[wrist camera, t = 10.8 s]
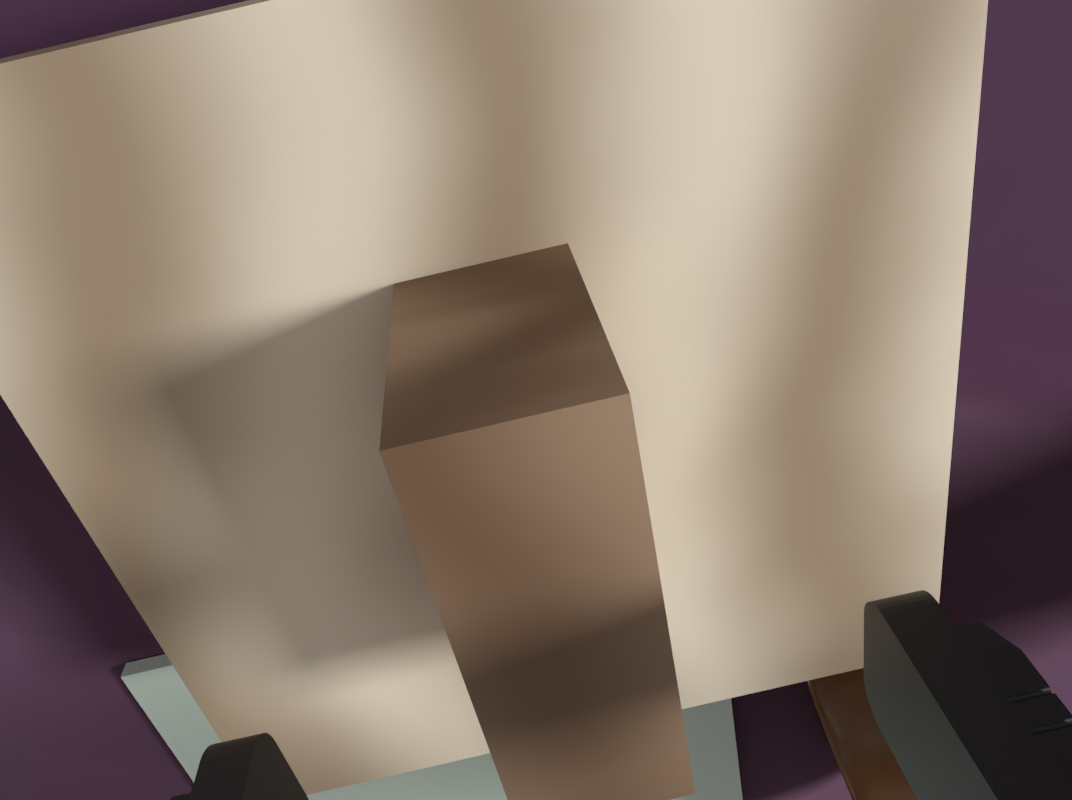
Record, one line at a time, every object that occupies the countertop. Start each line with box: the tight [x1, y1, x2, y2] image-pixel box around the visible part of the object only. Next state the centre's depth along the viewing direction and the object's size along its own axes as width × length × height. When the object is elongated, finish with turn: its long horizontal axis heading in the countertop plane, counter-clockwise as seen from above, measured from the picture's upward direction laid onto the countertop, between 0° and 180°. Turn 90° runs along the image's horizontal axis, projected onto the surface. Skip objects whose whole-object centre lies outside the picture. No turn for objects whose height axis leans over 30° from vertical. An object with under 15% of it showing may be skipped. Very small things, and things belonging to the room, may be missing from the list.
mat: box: [121, 654, 743, 800], centre depth 33 cm, size 20×20×1 cm
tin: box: [806, 668, 917, 800], centre depth 28 cm, size 15×3×8 cm, turn 24°
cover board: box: [0, 0, 988, 800], centre depth 14 cm, size 17×17×6 cm
